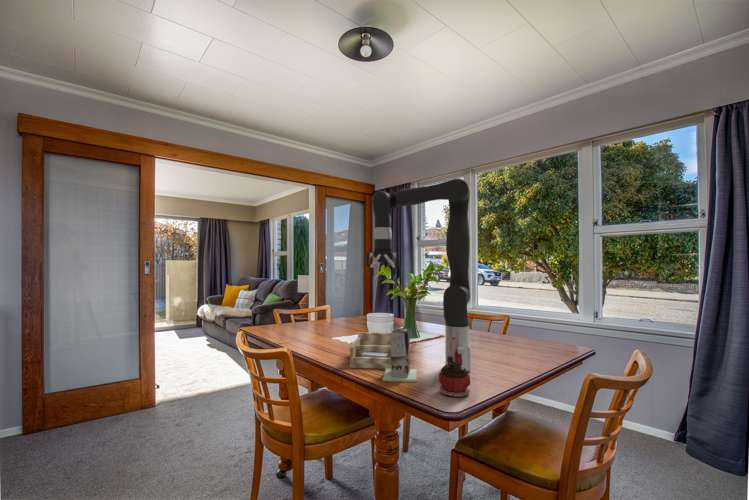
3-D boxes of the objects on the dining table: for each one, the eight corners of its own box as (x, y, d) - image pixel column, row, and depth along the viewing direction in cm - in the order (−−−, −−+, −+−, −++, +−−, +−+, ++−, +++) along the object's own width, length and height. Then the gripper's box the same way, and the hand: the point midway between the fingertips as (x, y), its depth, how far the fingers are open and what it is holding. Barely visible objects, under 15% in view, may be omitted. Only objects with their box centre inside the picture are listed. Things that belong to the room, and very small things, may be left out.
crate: (400, 355, 162) (400, 333, 162) (397, 369, 141) (397, 343, 141) (358, 354, 164) (358, 332, 164) (349, 367, 143) (349, 342, 143)
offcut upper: (388, 359, 147) (388, 353, 147) (385, 362, 143) (385, 356, 143) (365, 357, 150) (365, 351, 150) (361, 360, 146) (361, 354, 146)
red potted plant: (435, 387, 120) (435, 333, 121) (463, 386, 121) (462, 333, 121) (444, 399, 110) (444, 340, 110) (474, 398, 110) (473, 340, 111)
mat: (416, 370, 138) (416, 368, 138) (416, 382, 125) (416, 379, 126) (385, 369, 140) (385, 367, 140) (382, 380, 127) (382, 378, 127)
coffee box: (408, 377, 128) (408, 332, 128) (390, 376, 129) (390, 331, 129) (410, 370, 137) (410, 327, 137) (394, 369, 138) (393, 327, 138)
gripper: (400, 239, 155) (400, 276, 154) (367, 239, 156) (367, 276, 156) (399, 237, 147) (399, 277, 147) (365, 238, 149) (365, 277, 148)
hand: (383, 276), depth 151 cm, fingers open, 8 cm apart
